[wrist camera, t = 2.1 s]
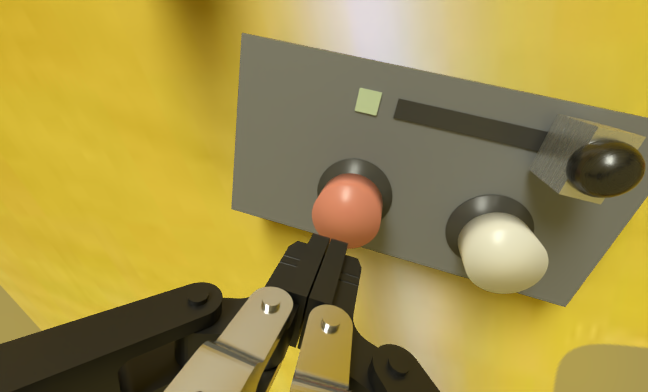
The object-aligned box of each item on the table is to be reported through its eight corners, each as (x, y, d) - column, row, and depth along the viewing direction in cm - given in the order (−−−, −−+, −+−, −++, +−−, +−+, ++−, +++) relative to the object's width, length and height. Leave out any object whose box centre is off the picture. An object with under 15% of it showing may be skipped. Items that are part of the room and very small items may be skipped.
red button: (390, 182, 16) (389, 197, 14) (373, 237, 18) (370, 256, 16) (327, 166, 17) (318, 178, 15) (315, 220, 18) (306, 237, 17)
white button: (545, 223, 15) (564, 244, 13) (512, 277, 17) (526, 302, 15) (472, 204, 16) (482, 222, 14) (447, 258, 17) (453, 281, 16)
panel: (634, 115, 17) (699, 129, 13) (538, 267, 22) (566, 308, 18) (270, 38, 20) (240, 32, 16) (256, 187, 24) (230, 209, 21)
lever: (601, 123, 14) (685, 148, 10) (568, 179, 15) (631, 221, 11) (551, 112, 14) (612, 131, 10) (522, 168, 15) (566, 205, 11)
